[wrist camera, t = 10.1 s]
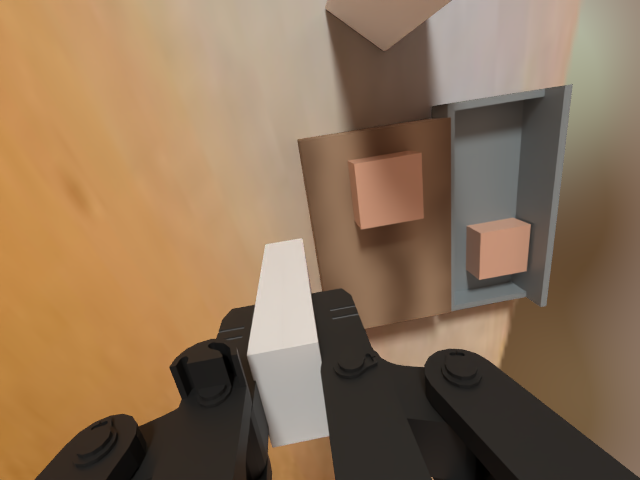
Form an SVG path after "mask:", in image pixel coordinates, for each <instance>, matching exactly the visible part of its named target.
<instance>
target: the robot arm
mask: <svg viewBox="0 0 640 480" xmlns="http://www.w3.org/2000/svg"><path fill="white" fill-rule="evenodd" d="M424 366H425V367H412V366H402V365H396V364H393V363H390V362H387V361H386V360H384V359H382V358H381V357H380V356H379V354H378V353H377V352H376V351H374V350H373V348H372V347H371V344H370V342H369V339H368V337H367V334H366V331H365V329H364V326H363V324H362V321H361V319H360V316H359V315H358V311H357V308H356V307H355V303H354V301H353V298H352V296H351V295H350V294H349V293H348V292H346V291H345V290H344V289H342V288H339V289H334V290H328V291H323V292H317V293H312V291H311V285H310V280H309V274H308V268H307V263H306V257H305V251H304V245H303V240H302V238H300V239H294V240H288V241H283V242H277V243H271V244H265V250H264V256H263V262H262V268H261V274H260V280H259V286H258V292H257V297H256V303H255V305H252V306H246V307H241V308H235V309H232V310H231V311H230V312H229V313H228V314H227V315H226V316H225V317H224V318H223V320H222V323H221V326H220V329H219V333H218V335H217V338H216V339H210V340H207V341H203V342H200V343H197V344H195V345H194V346H192V347H190V348H188V349H186V350H185V351H184V352H182V353H181V354H180V355H179V356H178V357H176V358H175V360H174V361H173V363H172V364H171V365H170V367H169V368H170V370H171V373H172V375H173V378H174V380H175V383H176V385H177V388H178V390H179V393H180V396H181V398H182V400H181V403H180V405H179V408H177V409H176V410H174V411H172V412H170V413H168V414H166V415H164V416H162V417H159V418H157V419H155V420H153V421H150V422H148V423H146V424H144V425H141V426H138V424H137V422H136V421H135V420H134V418H133V417H132V416H129V415H125V414H119V415H113V416H109V417H106V418H104V419H102V420H99V421H97V422H95V423H93V424H92V425H90V426H89V427H87V428H85V429H84V430H82V431H81V432H79V433H78V434H77V435H76V436H75V437H74V438H73V439H72V440H71V441H70V442H69V443H67V444H66V445H65V447H64V448H63V449H62V450H61V451H60V452H59V453H58V454H57V455H56V456H55V458H54V459H53V460H52V461H51V462H50V463H49V464H48V465H47V466H46V468H45V469H44V470H43V471H42V472H41V473H40V474H39V475H38V476H37V477H36V479H35V480H272V470H271V464H270V460H269V456H268V436H269V437H270V440H271V444H272V448H273V447H277V446H282V445H287V444H292V443H297V442H302V441H307V440H312V439H317V438H322V437H327V436H329V437H330V444H331V451H332V459H333V466H334V473H335V480H432V478H431V477H433V479H434V480H640V478H639V477H638V476H636V475H635V474H634V473H632V472H631V471H630V470H629V469H627V468H626V467H625V466H623V465H622V464H621V463H620V462H618V461H617V460H616V459H614V458H613V457H612V456H611V455H609V454H608V453H607V452H605V451H604V450H603V449H602V448H600V447H599V446H598V445H596V444H595V443H594V442H593V441H591V440H590V439H589V438H587V437H586V436H585V435H583V434H582V433H581V432H580V431H578V430H577V429H576V428H575V427H573V426H572V425H571V424H569V423H568V422H567V421H566V420H564V419H563V418H562V417H560V416H559V415H558V414H557V413H555V412H554V411H553V410H551V409H550V408H549V407H547V406H546V405H545V404H544V403H542V402H541V401H540V400H539V399H537V398H536V397H535V396H533V395H532V394H531V393H530V392H528V391H527V390H526V389H524V388H523V387H522V386H521V385H519V384H518V383H517V382H515V381H514V380H513V379H512V378H510V377H509V376H508V375H506V374H505V373H504V372H502V371H501V370H500V369H499V368H497V367H496V366H495V365H494V364H492V363H491V362H490V361H488V360H487V359H485V358H483V357H482V356H480V355H478V354H476V353H473V352H470V351H466V350H463V349H446V350H441V351H437V352H436V353H434V354H433V355H431V356H430V357H429V358H428V360H427V361H426V363H425V365H424Z"/></svg>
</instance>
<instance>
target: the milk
mask: <svg viewBox="0 0 640 480" xmlns="http://www.w3.org/2000/svg"><path fill="white" fill-rule="evenodd" d="M450 1H452V0H327V3H326V6H325V9H326V10H328V11H329V12H330V13H332V14H333V15H335V16H336V17H337V18H339V19H340V20H341V21H343V22H344V23H346V24H347V25H348V26H350V27H351V28H352V29H354V30H355V31H357V32H358V33H359V34H361V35H362V36H364V37H365V38H366V39H368V40H369V41H370V42H372V43H373V44H375V45H376V46H377V47H379V48H380V49H381V50H383V51H386V50H388V49H389V48H390V47H392V46H393V45H394V44H395V43H397V42H398V41H399V40H401V39H402V38H403V37H405V36H406V35H407V34H408V33H410V32H411V31H412V30H414V29H415V28H416V27H418V26H419V25H420V24H422V23H423V22H424V21H425V20H427V19H428V18H429V17H431V16H432V15H433V14H435V13H436V12H437V11H439V10H440V9H441V8H442V7H444V6H445V5H446V4H448V3H449V2H450Z"/></svg>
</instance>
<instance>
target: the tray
mask: <svg viewBox="0 0 640 480" xmlns="http://www.w3.org/2000/svg"><path fill="white" fill-rule="evenodd" d="M571 93H572V85H565V86H558V87H552V88H545V89H539V90H532V91H526V92H520V93H513V94H507V95H501V96H494V97H488V98H482V99H475V100H469V101H463V102H456V103H450V104H444V105H437V106H432V119H433V118H448V117H451V311H455V310H460V309H465V308H470V307H476V306H481V305H486V304H491V303H496V302H502V301H507V300H512V299H517V298H522V297H527V298H529V299H530V300H531V301H533V302H534V303H536V304H537V305H539V306H540V307H543V306H546V303H547V295H548V286H549V277H550V270H551V261H552V253H553V244H554V236H555V227H556V219H557V211H558V203H559V194H560V186H561V177H562V169H563V161H564V152H565V144H566V135H567V127H568V118H569V110H570V102H571ZM508 218H515V219H518V220H521V221H523V222H526V223H528V224H531V228H530V239H529V250H528V261H527V271H525V272H519V273H514V274H508V275H503V276H498V277H492V278H487V279H482V280H479V279H477V278H476V277H475V276H474V275H472V274H471V273H470V272H468V271H467V270H466V228H467V226H468V225H474V224H479V223H485V222H491V221H496V220H502V219H508Z"/></svg>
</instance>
